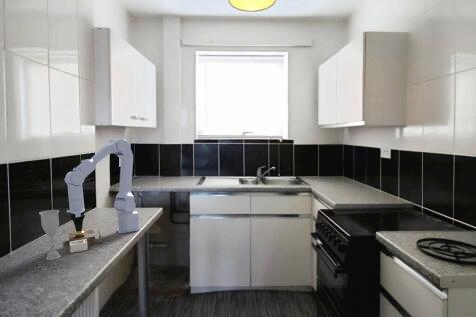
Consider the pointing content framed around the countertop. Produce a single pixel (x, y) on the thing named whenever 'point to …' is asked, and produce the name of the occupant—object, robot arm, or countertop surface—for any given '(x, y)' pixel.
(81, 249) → the white block with hole
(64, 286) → the countertop surface
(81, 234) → the peg
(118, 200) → the robot arm
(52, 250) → the chalice
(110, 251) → the countertop surface
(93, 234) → the bar
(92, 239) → the socket block
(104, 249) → the countertop surface
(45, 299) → the countertop surface
